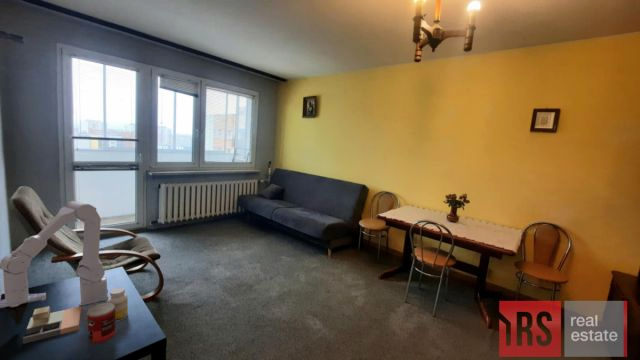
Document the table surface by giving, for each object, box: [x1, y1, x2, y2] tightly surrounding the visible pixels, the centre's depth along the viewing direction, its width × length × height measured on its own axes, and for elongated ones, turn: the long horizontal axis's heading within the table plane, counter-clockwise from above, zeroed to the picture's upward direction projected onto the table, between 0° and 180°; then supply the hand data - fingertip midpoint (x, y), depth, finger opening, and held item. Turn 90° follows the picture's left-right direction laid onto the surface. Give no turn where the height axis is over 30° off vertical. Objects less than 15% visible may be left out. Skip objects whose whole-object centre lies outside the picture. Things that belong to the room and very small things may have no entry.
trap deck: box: [22, 306, 82, 345], centre depth 107 cm, size 14×14×2 cm
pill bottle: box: [107, 287, 129, 323], centre depth 113 cm, size 6×6×12 cm
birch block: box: [32, 305, 51, 325], centre depth 106 cm, size 4×4×4 cm
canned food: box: [86, 302, 116, 344], centre depth 103 cm, size 8×8×11 cm
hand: (19, 322), depth 103 cm, fingers closed
